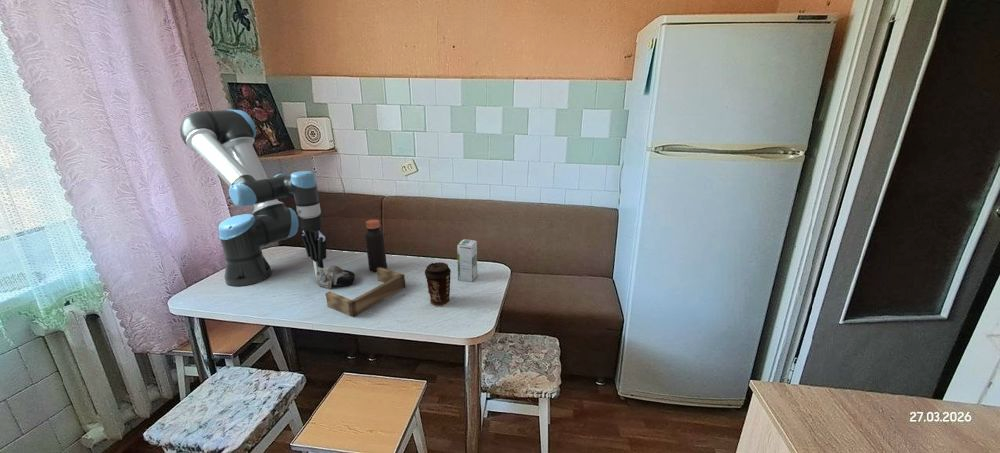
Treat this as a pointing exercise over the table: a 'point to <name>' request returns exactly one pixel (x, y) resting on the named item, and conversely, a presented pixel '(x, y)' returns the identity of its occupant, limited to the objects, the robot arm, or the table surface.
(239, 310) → the table surface
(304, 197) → the robot arm
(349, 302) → the bay
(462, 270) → the syrup box
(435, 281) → the coffee cup
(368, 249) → the bottle
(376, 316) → the table surface
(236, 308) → the table surface
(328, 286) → the caster wheel
